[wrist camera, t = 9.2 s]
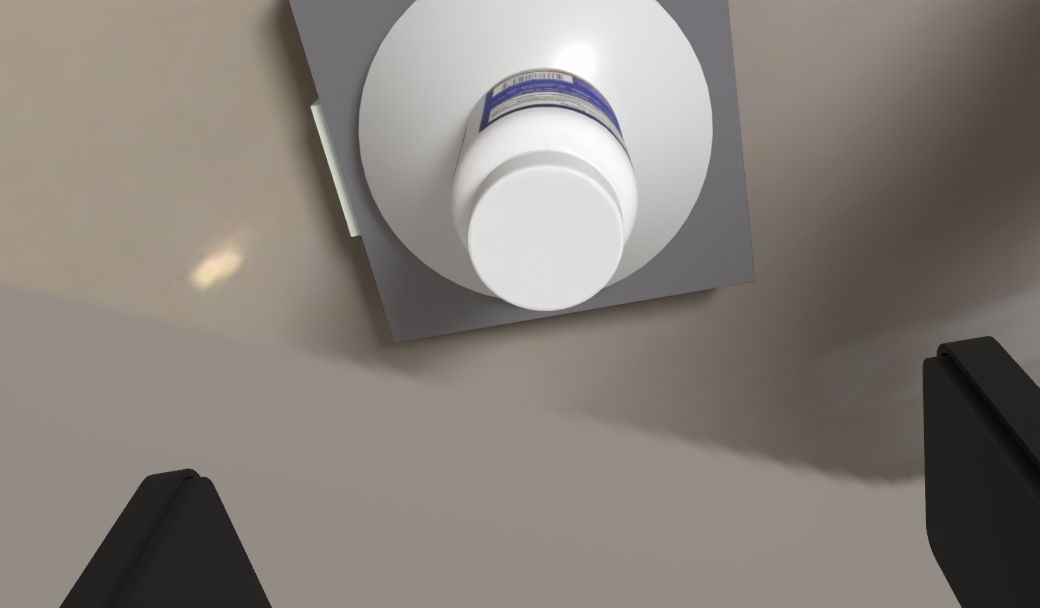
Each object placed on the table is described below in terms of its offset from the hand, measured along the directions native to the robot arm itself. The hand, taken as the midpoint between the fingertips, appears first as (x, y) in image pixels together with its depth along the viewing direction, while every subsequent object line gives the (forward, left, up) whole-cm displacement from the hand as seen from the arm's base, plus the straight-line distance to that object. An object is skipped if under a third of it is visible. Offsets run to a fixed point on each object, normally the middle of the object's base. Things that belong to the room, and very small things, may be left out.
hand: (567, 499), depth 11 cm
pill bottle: (+1, +1, -20) cm, 20 cm away
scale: (+1, +1, -23) cm, 23 cm away
